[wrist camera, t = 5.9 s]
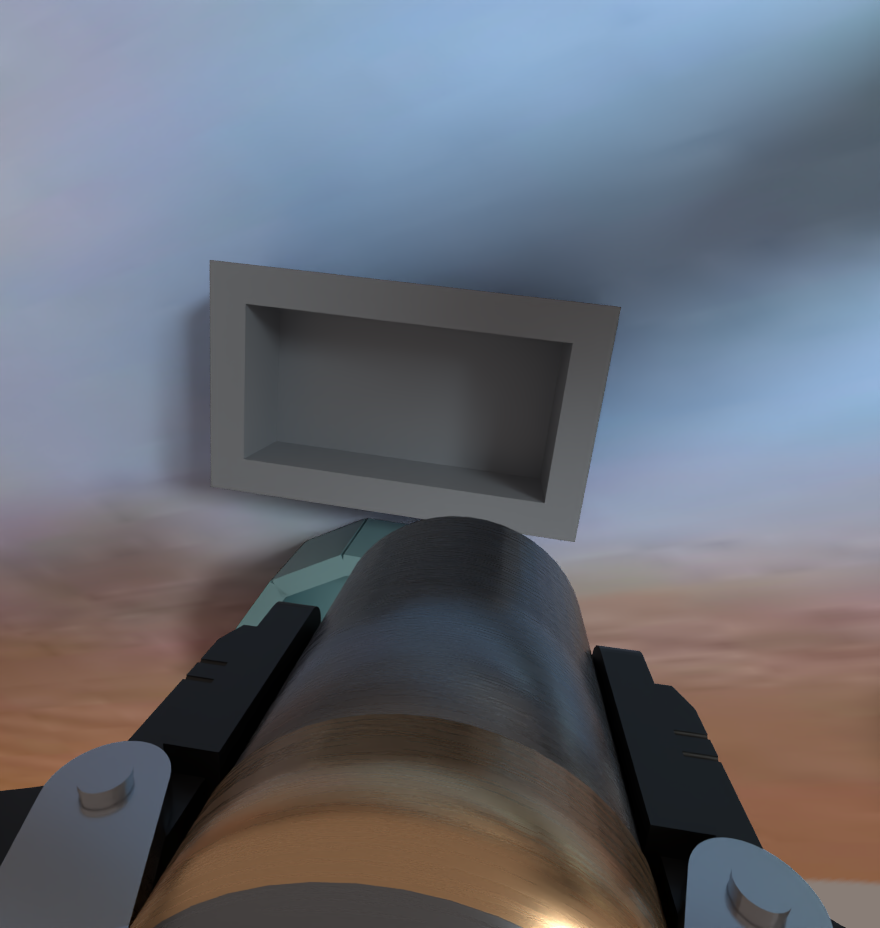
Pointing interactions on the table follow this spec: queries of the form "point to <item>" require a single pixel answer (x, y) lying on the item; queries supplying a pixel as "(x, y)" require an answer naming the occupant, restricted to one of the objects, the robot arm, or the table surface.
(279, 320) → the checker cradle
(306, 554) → the cup
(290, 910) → the cell
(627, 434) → the table surface
